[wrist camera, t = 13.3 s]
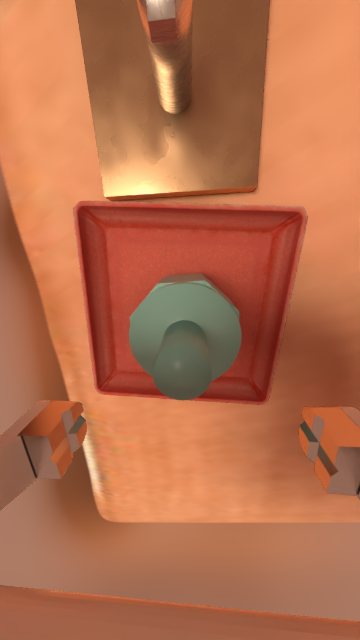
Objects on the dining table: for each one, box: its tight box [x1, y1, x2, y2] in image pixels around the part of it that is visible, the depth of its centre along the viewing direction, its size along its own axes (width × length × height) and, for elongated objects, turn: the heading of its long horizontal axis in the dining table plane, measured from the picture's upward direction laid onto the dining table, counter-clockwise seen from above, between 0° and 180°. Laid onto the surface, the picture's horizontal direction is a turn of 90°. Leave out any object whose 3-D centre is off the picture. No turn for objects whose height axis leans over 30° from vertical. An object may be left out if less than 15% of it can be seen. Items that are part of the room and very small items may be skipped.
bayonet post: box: [75, 0, 270, 201], centre depth 10 cm, size 12×12×10 cm
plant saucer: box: [73, 201, 308, 405], centre depth 19 cm, size 18×18×3 cm
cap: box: [129, 273, 241, 400], centre depth 14 cm, size 7×7×9 cm
